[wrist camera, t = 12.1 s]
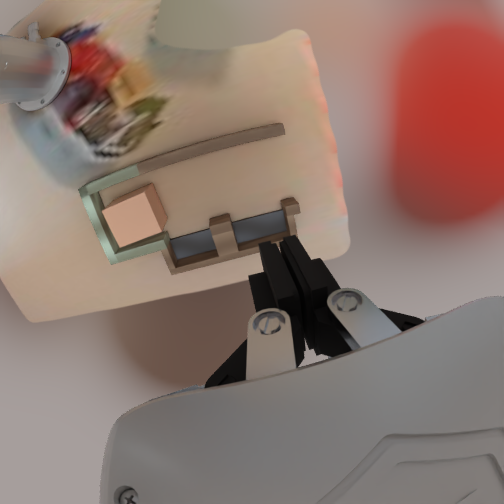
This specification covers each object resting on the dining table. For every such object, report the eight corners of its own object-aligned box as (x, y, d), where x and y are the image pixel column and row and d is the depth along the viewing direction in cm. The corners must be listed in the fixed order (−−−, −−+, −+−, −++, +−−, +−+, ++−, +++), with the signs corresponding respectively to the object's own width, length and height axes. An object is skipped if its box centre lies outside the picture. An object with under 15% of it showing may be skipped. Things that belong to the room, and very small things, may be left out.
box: (86, 183, 36) (78, 189, 33) (278, 123, 36) (283, 123, 33) (127, 277, 44) (122, 287, 41) (299, 232, 44) (304, 240, 41)
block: (113, 200, 38) (101, 211, 33) (152, 182, 38) (144, 192, 33) (129, 233, 41) (119, 247, 36) (167, 218, 40) (161, 231, 36)
